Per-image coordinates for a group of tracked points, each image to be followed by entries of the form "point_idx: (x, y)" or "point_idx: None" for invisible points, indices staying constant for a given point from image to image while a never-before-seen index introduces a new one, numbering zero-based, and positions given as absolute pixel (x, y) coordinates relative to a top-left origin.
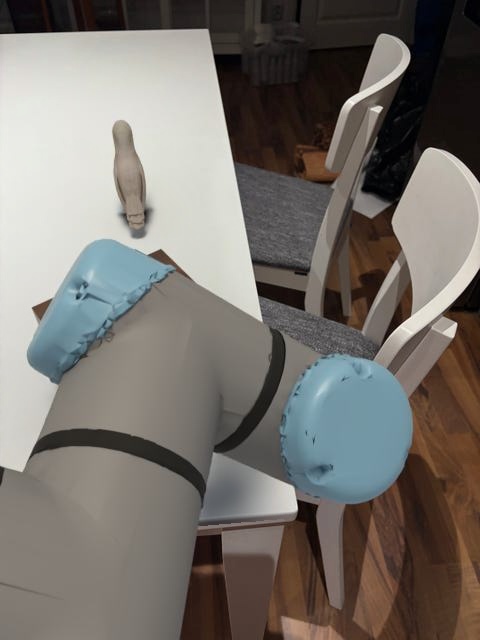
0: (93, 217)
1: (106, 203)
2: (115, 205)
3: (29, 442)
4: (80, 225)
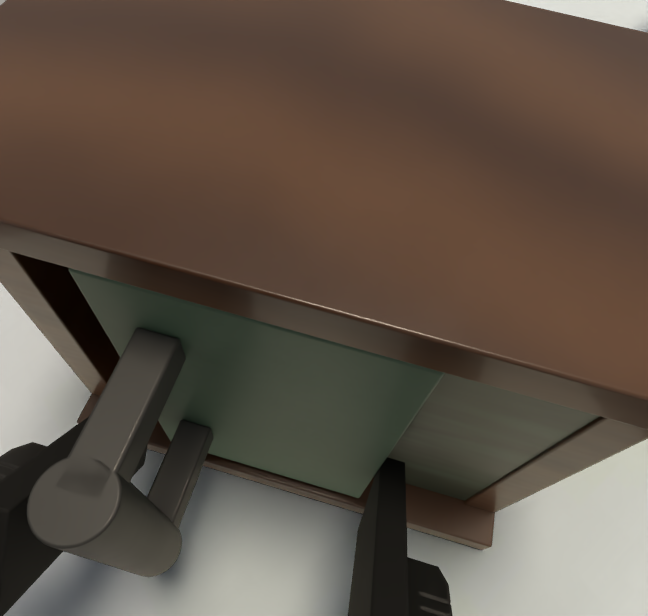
0: (577, 10)
1: (625, 5)
2: (639, 18)
3: (2, 288)
4: (540, 7)
